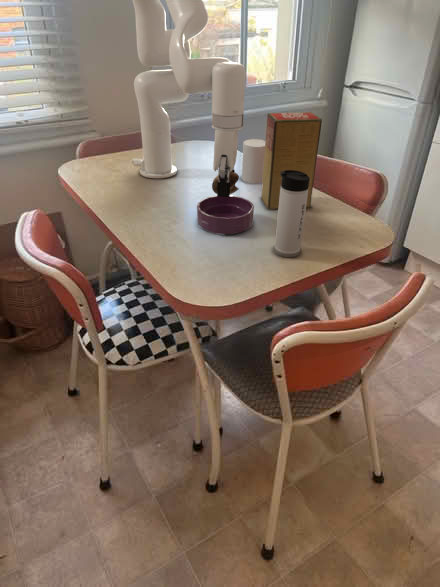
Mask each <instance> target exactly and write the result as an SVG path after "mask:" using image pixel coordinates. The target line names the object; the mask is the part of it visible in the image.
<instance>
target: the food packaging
mask: <svg viewBox="0 0 440 587" xmlns="http://www.w3.org/2000/svg"><path fill="white" fill-rule="evenodd" d="M322 123H323V119H322V118H321V117H320V116H318V115H316V114H315V113H313V112H312V111H307V112H304V111H303V112H268V113H267V116H266V127H265V128H266V129H265V141H266V142H265V156H264V169H263V182H262V183H261V186H262V187H261V198H260V199H261V201H262V203H263V204H264V206H265V207H266V209H267V210H278V208H279V198H280V189H281V180H282V177H281V175H280V173H281V171H285V170H295V171H300V172H303V173H305V174H307V176H308V177H309V178H310V180H309V189H308V196H307V204H306V209H307V208H311V206H312V196H313V188H314V182H315V174H316V166H317V158H318V151H319V144H320V137H321V132H322Z"/></svg>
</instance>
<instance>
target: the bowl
mask: <svg viewBox="0 0 440 587" xmlns="http://www.w3.org/2000/svg"><path fill="white" fill-rule="evenodd" d="M254 216H255V205H254V203H253V202H252V201H250V200H249V199H247V198H244V197H242V196H238V195H232V194H230V197H218V196H217V194H215V195H213V196H212V195H211V196H207V197H204V198H203V199H201V200H200V201H198V203H197V205H196V222H197V225H198V226H199V227H200V228H201V229H202V230H205V231H207V232H209V233H214V234H221V235H232V234H238V233H242V232H246V231H247V230H249V229H250V228H251V227H252V226H253V225H254Z"/></svg>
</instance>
